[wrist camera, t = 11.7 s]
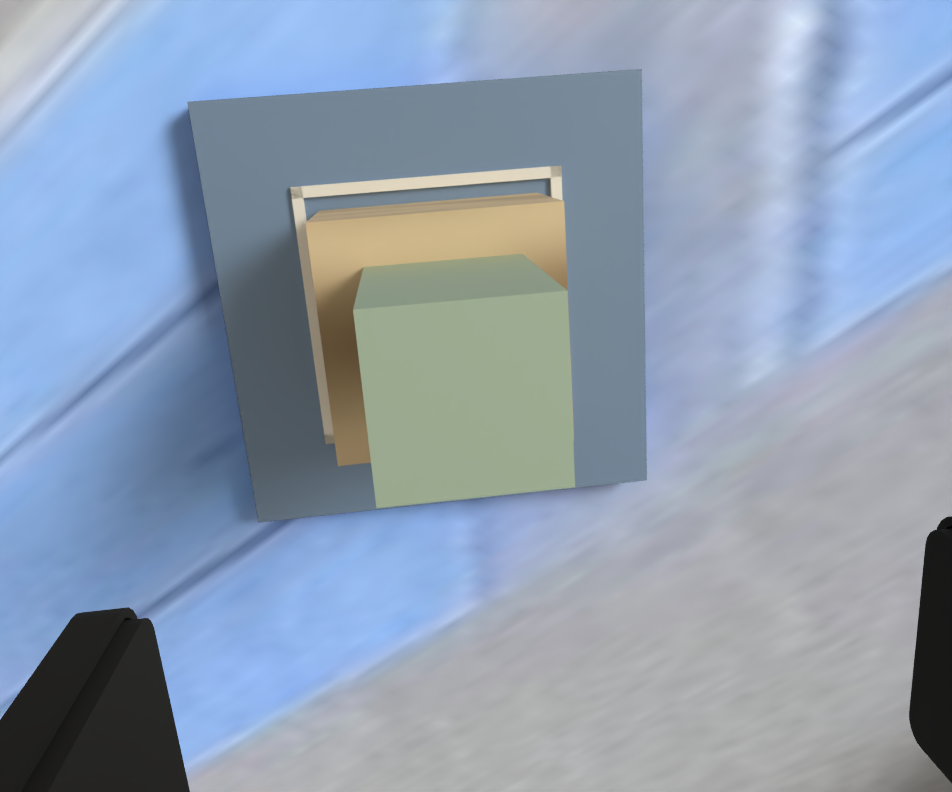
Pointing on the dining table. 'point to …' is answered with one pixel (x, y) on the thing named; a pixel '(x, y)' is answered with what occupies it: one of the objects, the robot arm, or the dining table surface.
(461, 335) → the sage brick
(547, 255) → the oak block
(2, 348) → the dining table surface
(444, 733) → the dining table surface
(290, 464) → the board
